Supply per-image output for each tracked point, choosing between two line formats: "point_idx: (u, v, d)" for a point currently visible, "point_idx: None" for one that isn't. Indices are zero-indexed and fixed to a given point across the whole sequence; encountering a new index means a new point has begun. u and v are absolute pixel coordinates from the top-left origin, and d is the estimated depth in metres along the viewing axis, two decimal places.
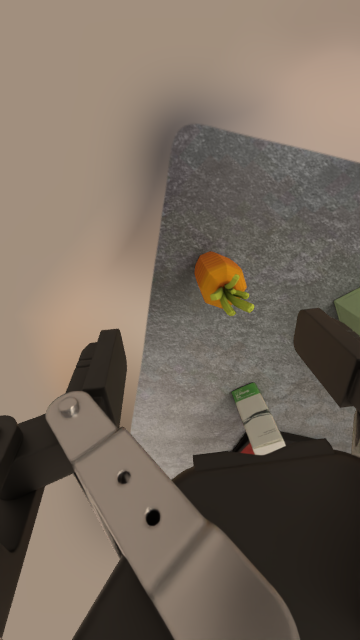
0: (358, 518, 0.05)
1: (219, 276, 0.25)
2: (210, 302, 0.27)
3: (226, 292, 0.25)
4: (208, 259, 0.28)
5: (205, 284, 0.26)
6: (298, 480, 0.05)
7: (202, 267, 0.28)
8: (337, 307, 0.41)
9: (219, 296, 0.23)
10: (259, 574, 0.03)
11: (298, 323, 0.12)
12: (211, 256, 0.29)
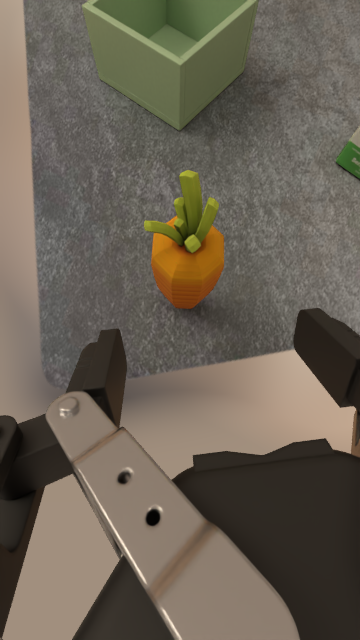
0: (358, 518, 0.05)
1: (170, 259, 0.15)
2: (219, 256, 0.16)
3: None
4: (166, 291, 0.19)
5: (192, 275, 0.15)
6: (298, 480, 0.05)
7: (177, 294, 0.18)
8: (185, 121, 0.32)
9: (189, 236, 0.12)
10: (260, 575, 0.03)
11: (298, 323, 0.12)
12: (162, 289, 0.20)
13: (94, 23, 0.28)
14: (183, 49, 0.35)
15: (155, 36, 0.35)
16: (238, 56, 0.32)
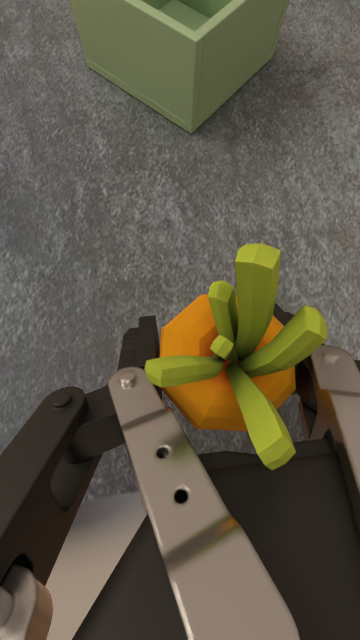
0: None
1: (196, 394, 0.08)
2: (289, 382, 0.08)
3: (237, 353, 0.08)
4: None
5: (238, 423, 0.08)
6: (298, 480, 0.05)
7: None
8: (198, 121, 0.24)
9: (261, 414, 0.05)
10: (274, 586, 0.03)
11: None
12: None
13: None
14: (195, 29, 0.27)
15: None
16: (269, 36, 0.24)
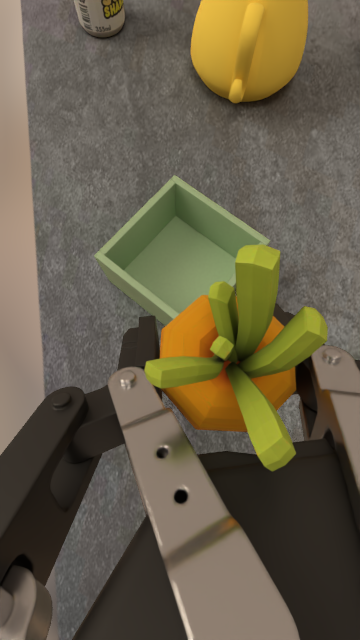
0: None
1: (197, 395, 0.08)
2: (290, 383, 0.08)
3: (237, 353, 0.08)
4: None
5: (238, 424, 0.08)
6: (298, 480, 0.05)
7: None
8: None
9: (261, 415, 0.05)
10: (274, 587, 0.03)
11: None
12: None
13: (106, 268, 0.28)
14: (192, 248, 0.35)
15: (164, 232, 0.35)
16: None
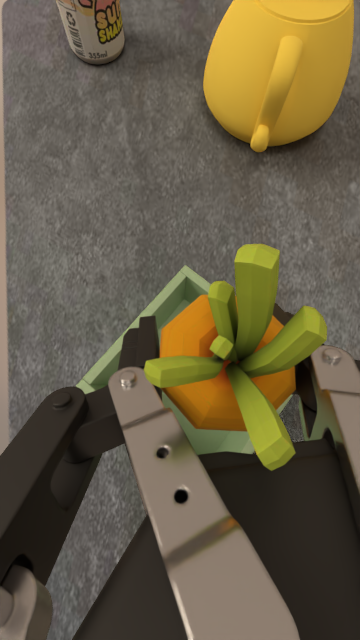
0: None
1: (196, 395, 0.08)
2: (289, 382, 0.08)
3: (237, 353, 0.08)
4: None
5: (238, 423, 0.08)
6: (298, 480, 0.05)
7: None
8: None
9: (260, 414, 0.05)
10: (274, 587, 0.03)
11: None
12: None
13: None
14: None
15: None
16: None
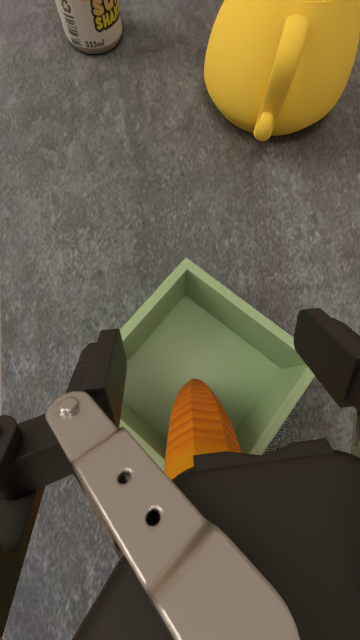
0: (358, 518, 0.05)
1: None
2: None
3: None
4: None
5: None
6: (298, 480, 0.05)
7: None
8: None
9: None
10: (260, 576, 0.03)
11: (298, 323, 0.12)
12: None
13: None
14: (208, 341, 0.26)
15: (170, 318, 0.27)
16: None
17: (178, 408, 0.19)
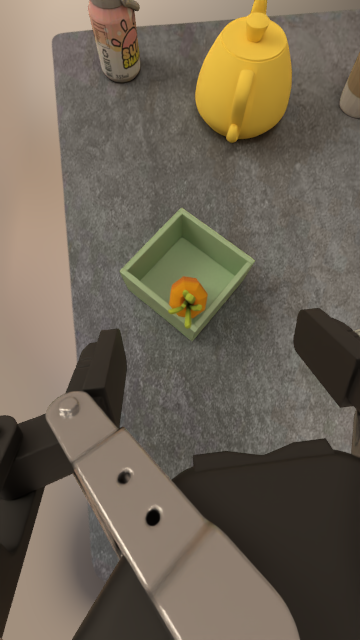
0: (358, 518, 0.05)
1: None
2: (202, 309, 0.32)
3: (189, 302, 0.31)
4: None
5: None
6: (298, 480, 0.05)
7: None
8: (196, 335, 0.40)
9: (187, 320, 0.29)
10: (259, 574, 0.03)
11: (298, 323, 0.12)
12: None
13: (128, 280, 0.37)
14: (195, 263, 0.43)
15: (172, 249, 0.44)
16: (239, 283, 0.41)
17: (176, 281, 0.36)
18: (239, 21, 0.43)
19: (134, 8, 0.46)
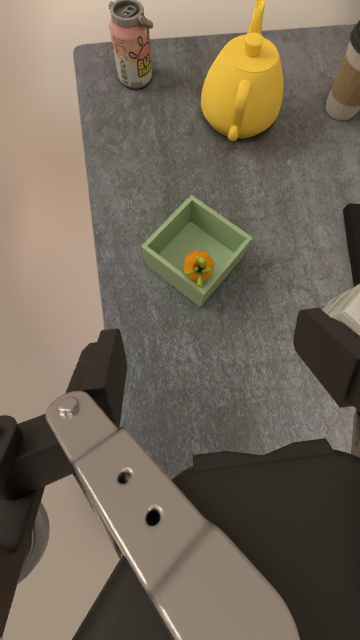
0: (358, 518, 0.05)
1: (191, 274, 0.39)
2: (210, 273, 0.40)
3: (200, 268, 0.39)
4: None
5: None
6: (298, 480, 0.05)
7: None
8: (204, 302, 0.48)
9: (199, 280, 0.37)
10: (259, 574, 0.03)
11: (298, 323, 0.12)
12: None
13: (148, 254, 0.45)
14: (202, 243, 0.51)
15: (182, 232, 0.52)
16: (239, 258, 0.48)
17: (188, 254, 0.44)
18: (238, 39, 0.51)
19: (148, 26, 0.54)
